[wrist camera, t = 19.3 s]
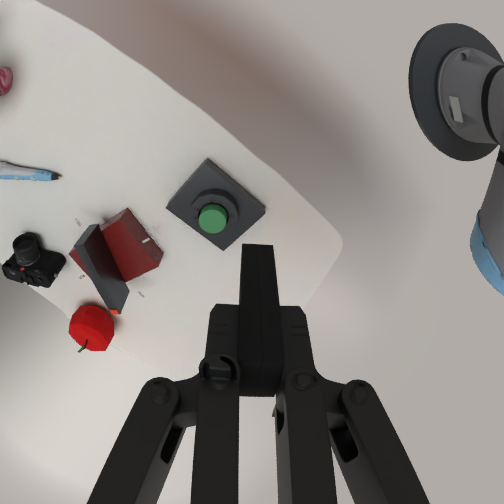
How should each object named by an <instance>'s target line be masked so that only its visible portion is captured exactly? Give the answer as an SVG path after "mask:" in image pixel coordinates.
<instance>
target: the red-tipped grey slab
mask: <svg viewBox="0 0 504 504" xmlns="http://www.w3.org/2000/svg"><path fill="white" fill-rule="evenodd" d="M74 247H75V249H76V251H77V253H78V255H79V257H80V259H81V261H82V263H83V265H84V267H85V268H86V270H87V272H88V274H89V276H90V278H91V280H92V281H93V283H94V285H95V287H96V288H97V290H98V292H99V294H100V295H101V297H102V299H103V300H104V302H105V304H106V305H107V307H108V309H109V311H110V313H111V314H121V311H122V309H123V306H124V304H125V301H126V299H127V296H128V294H129V289H128V287H127V285H126V283H125V281H124V279H123V277H122V275H121V273H120V271H119V269H118V267H117V265H116V262H115V260H114V258H113V256H112V254H111V252H110V249H109V247H108V245H107V243H106V240H105V238H104V236H103V234H102V231H101V229H100V226H99V224H94V225H89V227H88V228H87V229H86V230H85V232H84V233H83V234H82V236H81V237H80V238H79V240H78V241H77V242H76V244H75V245H74Z"/></svg>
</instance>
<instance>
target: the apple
mask: <svg viewBox="0 0 504 504" xmlns="http://www.w3.org/2000/svg"><path fill="white" fill-rule="evenodd" d="M69 334H70V335H71V337H72V338H73V339H74V340H76V342H77V343H78V344H79V345H81V346H82V348H81V349H80V350H79V351H78V352H81V351H82V350H83V349H85V348H86V349H89V350H90V351H106V349H107V347H108V345H109V344H110V342H111V340H112V338H113V336H114V322H113V321H112V320H111V318H110V317H109V315H108V314H107V312H106V311H105V310H104V309H102V308H100V307H97V306H95V305H88V306H81V307H79V308H78V309H77V311H76V312H75V313H74V314H73V315H72V318H71V321H70V325H69Z"/></svg>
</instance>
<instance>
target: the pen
mask: <svg viewBox="0 0 504 504" xmlns="http://www.w3.org/2000/svg"><path fill="white" fill-rule="evenodd" d="M59 178H60V177H59V176H58V175H56V174H54V173H51V172H48V171H43V170H37V169H30V168H23V167H17V166H13V165H10V164H7V163H6V162H0V179H17V180H19V179H23V180H33V181H37V180H40V181H51V180H57V179H59Z"/></svg>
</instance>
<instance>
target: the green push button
mask: <svg viewBox="0 0 504 504" xmlns="http://www.w3.org/2000/svg"><path fill="white" fill-rule="evenodd" d="M226 220H227V213H226V211H225V209H224V208H223V207H222V206H220V205H218V204H208V205H206V206H205V207H203V209H202V210H201V213H200V217H199V225H200V227H201V228H202V229H203V230H204V231H206V232H208V233H218V232H220V231H222V230H223V229H224V227H225V225H226Z"/></svg>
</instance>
